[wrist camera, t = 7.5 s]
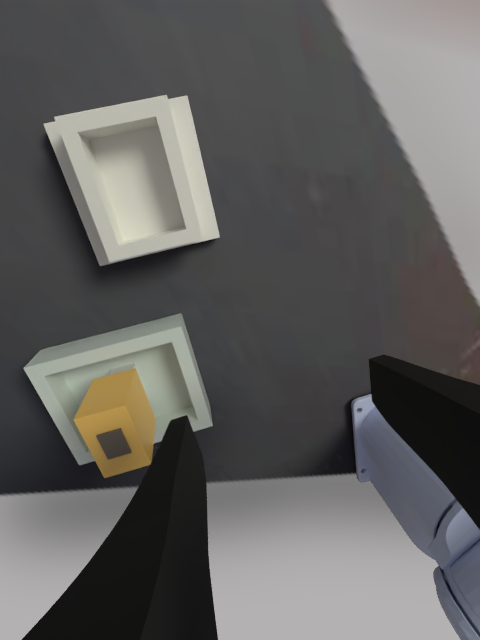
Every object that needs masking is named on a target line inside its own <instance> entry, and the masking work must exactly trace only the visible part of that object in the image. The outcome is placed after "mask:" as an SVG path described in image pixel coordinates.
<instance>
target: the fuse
mask: <svg viewBox="0 0 480 640" xmlns="http://www.w3.org/2000/svg"><path fill="white" fill-rule="evenodd" d="M73 420H74V422H75V424H76V426H77V428H78V429H79V431H80V433H81V435H82V437H83V439H84V441H85V443H86V445H87V446H88V448H89V450H90V452H91V454H92V456H93V458H94V460H95V462H96V463H97V465H98V467H99V469H100V471H101V473H102V475H103V477H104V478H107V477H110V476H114V475H117V474H121V473H124V472H127V471H131V470H134V469H137V468H141V467H144V466H148V465H150V464H151V462H152V453H153V445H154V436H155V427H156V418H155V416H154V413H153V411H152V408H151V406H150V403H149V399H148V396H147V394H146V391H145V388H144V386H143V383H142V381H141V378H140V376H139V373H138V371H137V368H136V366H135V363H132V364H128V365H124V366H120V367H117V368H113V369H111V371H110V373H109V375H108V376H104V377H100V378H97V379H93V381H92V383H91V385H90V387H89V389H88V391H87V393H86V395H85V397H84V399H83V401H82V403H81V405H80V407H79V409H78V411H77V413H76V415H75V417H74V419H73Z"/></svg>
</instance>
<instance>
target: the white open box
mask: <svg viewBox="0 0 480 640" xmlns="http://www.w3.org/2000/svg"><path fill="white" fill-rule="evenodd" d="M54 118H55V122H50V123H45V124H44V127H45V129H46V132H47V134H48V137H49V139H50V142H51V144H52V147H53V149H54V152H55V154H56V157H57V159H58V162H59V164H60V167H61V170H62V172H63V175H64V177H65V180H66V182H67V185H68V187H69V190H70V192H71V195H72V197H73V200H74V202H75V205H76V207H77V210H78V212H79V215H80V217H81V220H82V222H83V225H84V227H85V230H86V232H87V235H88V238H89V240H90V243H91V245H92V248H93V250H94V253H95V255H96V258H97V260H98V263H99V265H100V266H103V265H107V264H111V263H115V262H120V261H124V260H128V259H132V258H136V257H140V256H144V255H149V254H153V253H157V252H161V251H165V250H169V249H173V248H178V247H182V246H186V245H190V244H194V243H198V242H202V241H207V240H211V239H215V238H219V237H220V236H219V231H218V227H217V223H216V218H215V214H214V210H213V205H212V201H211V197H210V192H209V188H208V183H207V179H206V175H205V170H204V166H203V162H202V157H201V153H200V149H199V144H198V140H197V136H196V131H195V127H194V123H193V118H192V114H191V110H190V105H189V101H188V97H187V96H182V97H177V98H172V99H168V98H167V95H164V96H159V97H154V98H148V99H143V100H138V101H133V102H128V103H123V104H118V105H113V106H108V107H103V108H97V109H92V110H87V111H82V112H77V113H72V114H67V115H62V116H57V117H54Z"/></svg>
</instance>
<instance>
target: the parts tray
mask: <svg viewBox="0 0 480 640" xmlns="http://www.w3.org/2000/svg"><path fill="white" fill-rule="evenodd" d="M132 363H135V366H136V368H137V371H138V373H139V376H140V378H141V381H142V383H143V386H144V388H145V391H146V394H147V396H148V399H149V403H150V406H151V408H152V411H153V413H154V416H155V418H156V427H155V436H154V443H157V442H160V441H162V439H163V436H164V434H165V431H166V429H167V427H168V424H169V422H170V421H171V420H172V419H176V418H179V417H182V416H185V415H187V416H188V419H189V421H190V424H191V427H192V429H193V432H194V431H197V430H201V429H204V428H207V427H211V426H213V424H212V417H211V410H210V404H209V401H208V398H207V395H206V391H205V388H204V385H203V382H202V378H201V375H200V372H199V369H198V365H197V362H196V359H195V356H194V352H193V349H192V346H191V343H190V339H189V336H188V333H187V330H186V326H185V323H184V320H183V317H182V314H181V313H180V314H176V315H172V316H169V317H165V318H161V319H157V320H153V321H149V322H146V323H142V324H138V325H134V326H130V327H126V328H123V329H119V330H115V331H111V332H107V333H103V334H100V335H96V336H92V337H88V338H84V339H81V340H77V341H73V342H69V343H65V344H61V345H58V346H54V347H50V348H46V349H42V350H40V351H39V352H38V353H37V354H36V355H35V356H34V358H33V359H32V360H31V361H30V362H29V363H28V364H27V365H26V366H25V367H24V368H23V369H24V370H25V372H26V374H27V376H28V377H29V379H30V381H31V383H32V384H33V386H34V388H35V389H36V391H37V393H38V395H39V396H40V398H41V400H42V402H43V403H44V405H45V407H46V409H47V410H48V412H49V414H50V416H51V417H52V419H53V421H54V423H55V424H56V426H57V428H58V429H59V431H60V433H61V435H62V436H63V438H64V440H65V442H66V443H67V445H68V447H69V449H70V450H71V452H72V454H73V456H74V457H75V459H76V461H77V462H78V464H79V465H83V464H86V463H89V462H93V461H95V460H94V458H93V456H92V454H91V452H90V450H89V448H88V446H87V445H86V443H85V441H84V439H83V437H82V435H81V433H80V431H79V429H78V428H77V426H76V424H75V422H74V420H73V419H74V417H75V415H76V413H77V411H78V409H79V407H80V405H81V403H82V401H83V399H84V397H85V395H86V393H87V391H88V389H89V387H90V385H91V383H92V381H93V379H97V378H100V377H104V376H108V375H109V373H110V371H111V369H113V368H117V367H120V366H124V365H128V364H132Z"/></svg>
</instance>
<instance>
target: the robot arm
mask: <svg viewBox="0 0 480 640" xmlns="http://www.w3.org/2000/svg"><path fill="white" fill-rule="evenodd" d="M369 367H370V381H371V394H369V395H366V396H362V397H359V398H356V399H354V400H353V401H352V403H351V409H352V422H353V434H354V447H355V459H356V471H357V478H358V480H359V481H360V482H366V481H369V480H370V481H371V482H372V483H373V485H374V487H375V488H376V489H377V491H378V492H379V494H380V495H381V497H382V498H383V500H384V501H385V503H386V504H387V506H388V507H389V509H390V510H391V512H392V513H393V514H394V516H395V517H396V519H397V520H398V522H399V523H400V525H401V526H402V528H403V529H404V531H405V532H406V534H407V535H408V536H409V538H410V539H411V540H412V542H413V543H414V544H415V545H416V546H417V547H418V548H419V549H420V550H421V551H423V552H424V553H425V554H426V555H428V556H429V557H431V558H432V559H434V560H436V562H437V563H438V565H439V566H438V567H437V568H435V570H434V581H435V585H436V591H437V595H438V598H439V601H440V604H441V606H442V608H443V610H444V612H445V614H446V616H447V618H448V620H449V621H450V623H451V625H452V626H453V628H454V630H455V631H456V633H457V634H458V636H459V637H460V639H461V640H480V385H478V384H474V383H471V382H467V381H464V380H460V379H457V378H453V377H450V376H447V375H444V374H441V373H438V372H435V371H432V370H429V369H426V368H423V367H420V366H417V365H414V364H411V363H408V362H405V361H402V360H399V359H396V358H393V357H390V356H386V355H381V356H378V357H374V358H371V359H369ZM358 408H359V409H358ZM357 409H358V410H357ZM22 640H218V637H217V629H216V621H215V613H214V604H213V596H212V587H211V578H210V569H209V556H208V528H207V493H206V477H205V470H204V463H203V456H202V453H201V451H200V448H199V445H198V443H197V440H196V437H195V435H194V432H193V429H192V427H191V424H190V421H189V419H188V416H187V415H185V416H182V417H179V418H176V419H172V420H171V421H170V422H169V424H168V427H167V429H166V431H165V434H164V436H163V439H162V441H161V443H160V445H159V448H158V450H157V452H156V454H155V456H154V458H153V460H152V462H151V464H150V467H149V469H148V471H147V473H146V474H145V476H144V478H143V480H142V482H141V484H140V485H139V487H138V489H137V491H136V493H135V495H134V496H133V498H132V500H131V502H130V503H129V505H128V507H127V508H126V510H125V511H124V513H123V514H122V516H121V518H120V519H119V521H118V522H117V524H116V525H115V527H114V528H113V530H112V531H111V533H110V534H109V535H108V537H107V538H106V539H105V541H104V542H103V544H102V545H101V546H100V548H99V549H98V551H97V552H96V553H95V555H94V556H93V557H92V559H91V560H90V561H89V563H88V564H87V565H86V566H85V568H84V569H83V570H82V571H81V573H80V574H79V575H78V576H77V578H76V579H75V580H74V581H73V583H72V584H71V585H70V586H69V587H68V588H67V590H66V591H65V592H64V593H63V595H62V596H61V597H60V598H59V599H58V600H57V601H56V603H55V604H54V605H53V606H52V607H51V608H50V610H49V611H48V612H47V613H46V614H45V615H44V616H43V617H42V618H41V619H40V620H39V622H38V623H37V624H36V625H35V626H34V627H33V628H32V629H31V630H30V631H29V633H27V635H26V636H25V637H24V638H23V639H22Z"/></svg>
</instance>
